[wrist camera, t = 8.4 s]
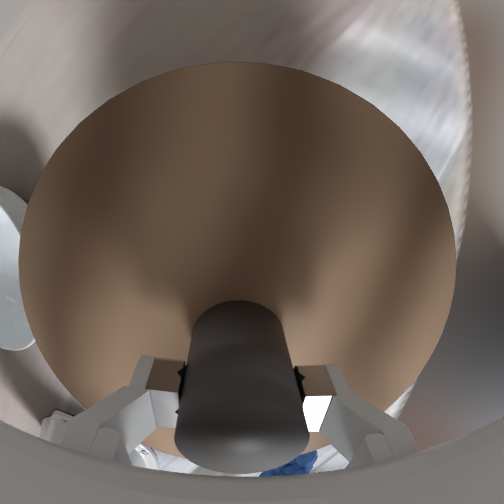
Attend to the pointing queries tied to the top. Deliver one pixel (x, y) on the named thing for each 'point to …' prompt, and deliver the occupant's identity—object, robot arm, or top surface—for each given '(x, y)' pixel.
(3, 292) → the cereal bowl
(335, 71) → the top surface
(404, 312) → the lid
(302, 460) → the grapes
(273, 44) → the top surface
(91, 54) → the top surface
